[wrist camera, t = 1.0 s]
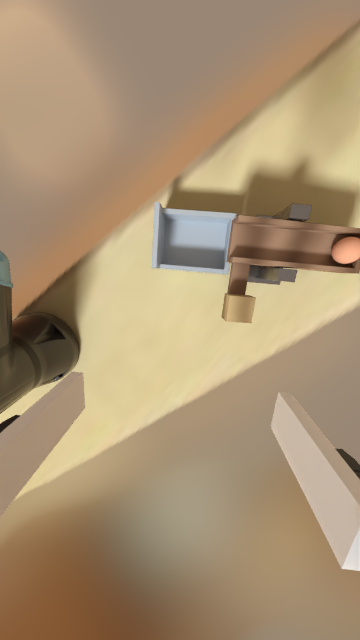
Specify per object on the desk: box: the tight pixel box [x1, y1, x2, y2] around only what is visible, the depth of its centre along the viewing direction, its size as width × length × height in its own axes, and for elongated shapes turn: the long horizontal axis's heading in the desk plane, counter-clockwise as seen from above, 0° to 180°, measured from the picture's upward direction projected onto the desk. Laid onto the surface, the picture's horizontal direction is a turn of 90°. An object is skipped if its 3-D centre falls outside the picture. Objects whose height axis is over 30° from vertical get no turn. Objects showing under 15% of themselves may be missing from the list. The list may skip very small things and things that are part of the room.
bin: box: [152, 202, 237, 274], centre depth 32 cm, size 12×9×7 cm
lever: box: [222, 215, 360, 323], centre depth 28 cm, size 18×14×3 cm
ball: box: [332, 237, 360, 264], centre depth 26 cm, size 3×3×3 cm
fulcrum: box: [247, 204, 312, 285], centre depth 30 cm, size 13×11×10 cm
